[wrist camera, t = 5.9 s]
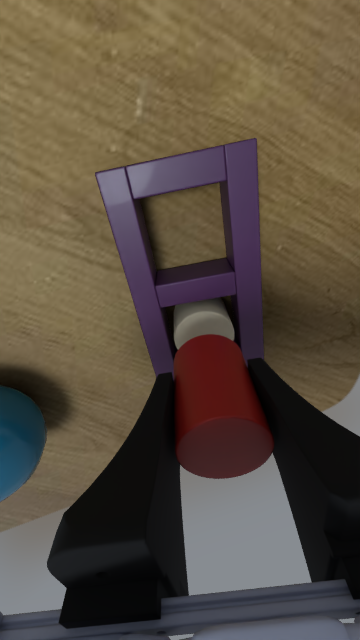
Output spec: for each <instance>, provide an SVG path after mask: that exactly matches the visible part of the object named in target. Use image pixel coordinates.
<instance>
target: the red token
mask: <svg viewBox="0 0 360 640" xmlns="http://www.w3.org/2000/svg"><path fill="white" fill-rule="evenodd" d="M174 426H175V455H176V458H177V460H178V462H179V463H180V465H181V466H182V467H183V468H184V469H186V470H187V471H189V472H191V473H193V474H195V475H198V476H201V477H206V478H214V479H220V478H221V479H222V478H232V477H236V476H241V475H244V474H247V473H249V472H251V471H253V470H255V469H257V468H258V467H260V466H261V465H262V464H264V463H265V462H266V461H267V460H268V458H269V457H270V456H271V454H272V452H273V449H274V437H273V434H272V431H271V429H270V426H269V423H268V421H267V418H266V415H265V413H264V410H263V407H262V405H261V402H260V399H259V397H258V394H257V391H256V389H255V386H254V383H253V381H252V378H251V375H250V373H249V370H248V367H247V365H246V362H245V360H244V357H243V354H242V352H241V350H240V348H239V346H238V345H237V344H236V343H235V342H234V341H232V340H231V339H229V338H227V337H224V336H221V335H216V334H206V335H200V336H197V337H194V338H192V339H190V340H188V341H187V342H185V343H184V344H183V345H182V346H181V347H180V348H179V350H178V351H177V353H176V355H175V358H174Z"/></svg>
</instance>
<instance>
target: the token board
mask: <svg viewBox="0 0 360 640" xmlns="http://www.w3.org/2000/svg"><path fill="white" fill-rule="evenodd" d="M95 176H96V179H97V183H98V186H99V189H100V193H101V196H102V199H103V202H104V206H105V209H106V212H107V216H108V219H109V222H110V226H111V229H112V232H113V236H114V239H115V242H116V245H117V249H118V252H119V255H120V259H121V262H122V265H123V269H124V272H125V275H126V279H127V282H128V285H129V288H130V292H131V295H132V298H133V302H134V305H135V308H136V312H137V315H138V318H139V321H140V325H141V328H142V331H143V335H144V338H145V341H146V345H147V348H148V351H149V355H150V358H151V361H152V364H153V368H154V371H155V374H156V378H157V376H158V374H161V373H167V372H172V376H173V379H174V358H175V355H176V353H177V351H178V349H177V347H176V345H175V346H174V341H173V337H172V333H171V329H170V325H169V321H168V316H167V312H166V308H165V307H167V306H173V305H179V304H184V303H190V302H196V301H201V300H207V299H213V298H218V297H224V296H229V295H230V296H231V306H232V316H233V326H234V342H235V343H236V344H237V345H238V346H239V348H240V350H241V352H242V354H243V357H244V360H245V362H246V365H247V367H248V363H247V360H248V359H254V358H260V357H261V358H262V359H263V360H264V347H263V317H262V286H261V256H260V226H259V196H258V166H257V139H256V138H253V139H248V140H244V141H239V142H234V143H230V144H225V145H221V146H216V147H211V148H207V149H202V150H197V151H193V152H188V153H183V154H179V155H174V156H169V157H165V158H160V159H155V160H151V161H146V162H141V163H137V164H132V165H127V166H123V167H118V168H113V169H109V170H104V171H99V172H96V173H95ZM218 182H219V183H220V193H221V204H222V214H223V224H224V234H225V244H226V255H227V258H224V259H218V260H213V261H207V262H202V263H197V264H191V265H186V266H181V267H175V268H170V269H165V270H159V271H157V270H156V266H155V262H154V258H153V253H152V249H151V245H150V241H149V237H148V232H147V228H146V224H145V220H144V216H143V211H142V207H141V203H140V198H145V197H150V196H155V195H160V194H165V193H169V192H174V191H179V190H184V189H189V188H194V187H199V186H203V185H208V184H213V183H218Z"/></svg>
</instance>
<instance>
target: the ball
mask: <svg viewBox="0 0 360 640" xmlns="http://www.w3.org/2000/svg"><path fill="white" fill-rule="evenodd" d="M46 439H47V427H46V422H45V419H44V416H43V413H42V411H41V409H40V407H39V406H38V405H37V404H36V402H35V401H34V400H33V399H32V398H31V397H30V396H28V395H26V394H25V393H23V392H21V391H19V390H17V389H14V388H10V387H7V386H3V385H0V502H2V501H3V500H5V499H6V498H8V497H9V496H10V495H11V494H13V493H14V492H15V491H17V490H18V489H19V488H20V487H21V486H22V485H23V484H25V483H26V482H27V480H28V479H29V478H30V477H31V475H32V474H33V473H34V471H35V470H36V468H37V466H38V464H39V462H40V459H41V456H42V453H43V450H44V447H45V443H46Z"/></svg>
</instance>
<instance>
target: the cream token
mask: <svg viewBox="0 0 360 640" xmlns="http://www.w3.org/2000/svg"><path fill="white" fill-rule="evenodd" d="M206 334H216V335H221V336H224V337H227V338H229V339H231V340H232V341H234V328H233V325H232V323H231V320H230V317H229V315H228V312H227V309H226V307H225V304H224V302H223V301H222V299H221V298H220V297H218V298H213V299H207V300H201V301H196V302H190V303H184V304H179V305H176V306H175V309H174V342H175V345H176V347H177V349H178V350H179V348H180V347H181V346H182V345H183V344H184V343H185V342H187V341H188V340H190V339H192V338H194V337H197V336H200V335H206Z"/></svg>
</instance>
